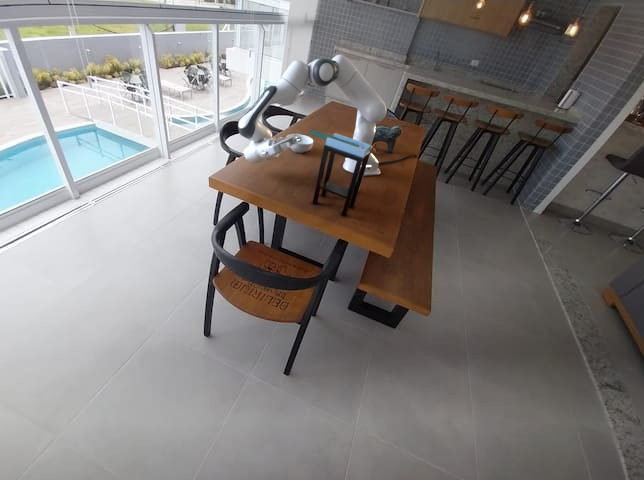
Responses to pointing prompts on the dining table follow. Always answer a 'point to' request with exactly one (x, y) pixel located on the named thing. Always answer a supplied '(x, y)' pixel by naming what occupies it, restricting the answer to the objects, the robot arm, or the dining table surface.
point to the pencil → (324, 136)
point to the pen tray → (348, 147)
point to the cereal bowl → (302, 143)
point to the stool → (336, 188)
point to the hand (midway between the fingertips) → (295, 141)
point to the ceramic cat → (387, 135)
